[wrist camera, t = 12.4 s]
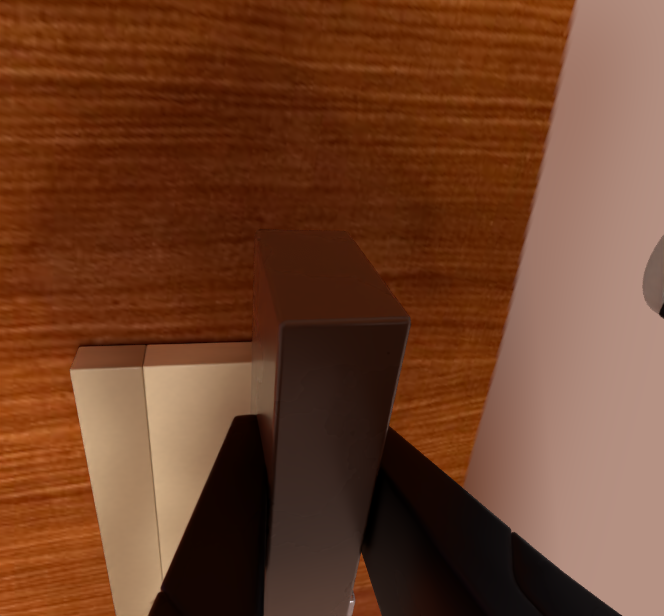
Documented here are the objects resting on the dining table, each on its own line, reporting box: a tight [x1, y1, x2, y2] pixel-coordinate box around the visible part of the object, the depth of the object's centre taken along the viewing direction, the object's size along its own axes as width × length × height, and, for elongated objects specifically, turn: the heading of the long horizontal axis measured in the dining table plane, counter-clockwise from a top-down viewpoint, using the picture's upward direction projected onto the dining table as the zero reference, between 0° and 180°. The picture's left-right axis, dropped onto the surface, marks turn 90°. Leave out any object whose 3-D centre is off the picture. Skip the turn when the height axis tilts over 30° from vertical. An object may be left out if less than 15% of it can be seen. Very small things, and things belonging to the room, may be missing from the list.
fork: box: [250, 229, 411, 616], centre depth 10 cm, size 4×15×3 cm, turn 174°
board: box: [70, 342, 252, 616], centre depth 24 cm, size 12×24×2 cm, turn 173°
